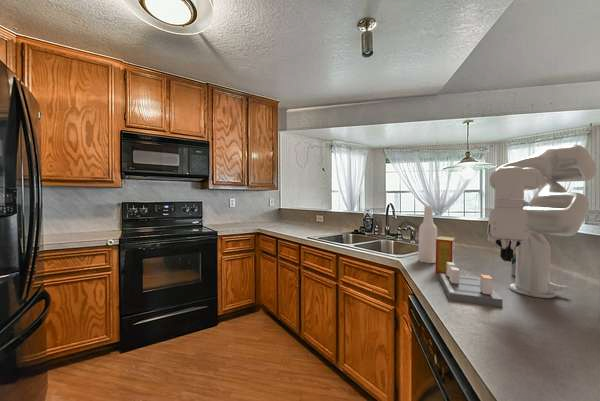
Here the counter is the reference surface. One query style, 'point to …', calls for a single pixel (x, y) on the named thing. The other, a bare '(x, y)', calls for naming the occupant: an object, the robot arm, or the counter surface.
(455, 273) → the handle mid
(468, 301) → the panel
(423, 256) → the alcohol
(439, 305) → the counter surface
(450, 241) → the baking soda box
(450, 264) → the handle back
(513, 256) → the lotion bottle
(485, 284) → the handle
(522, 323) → the counter surface
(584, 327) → the counter surface
